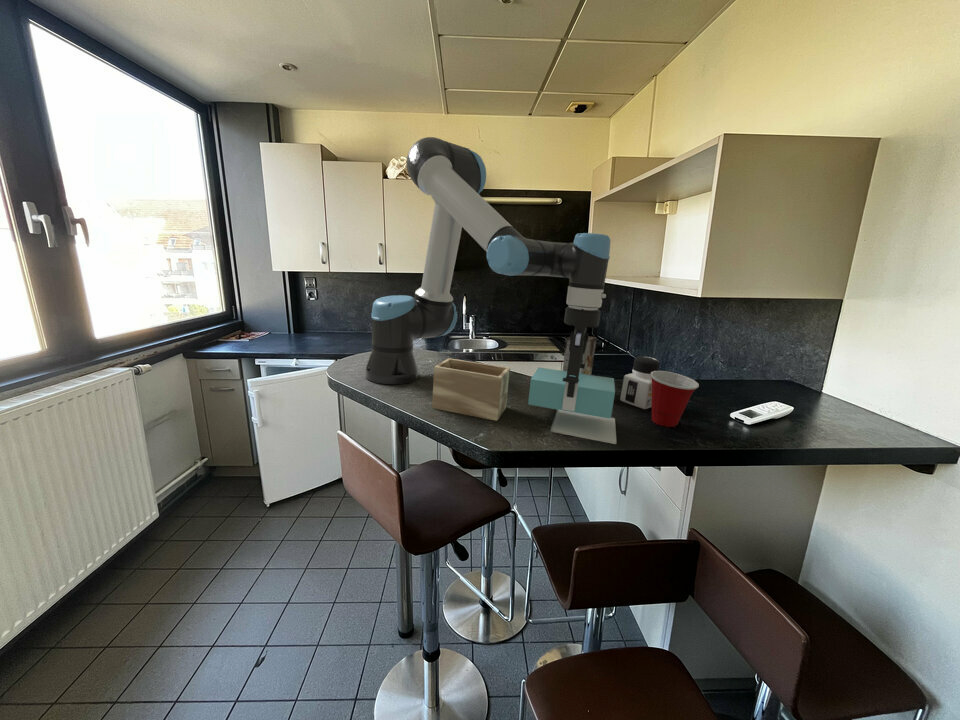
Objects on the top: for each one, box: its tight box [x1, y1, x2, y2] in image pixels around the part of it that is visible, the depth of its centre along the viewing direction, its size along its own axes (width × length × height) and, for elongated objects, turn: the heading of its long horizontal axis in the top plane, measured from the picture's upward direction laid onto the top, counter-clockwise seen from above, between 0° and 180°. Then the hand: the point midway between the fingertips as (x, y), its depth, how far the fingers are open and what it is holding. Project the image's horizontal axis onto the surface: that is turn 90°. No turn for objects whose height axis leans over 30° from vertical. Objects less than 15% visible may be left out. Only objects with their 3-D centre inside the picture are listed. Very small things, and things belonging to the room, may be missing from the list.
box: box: [431, 357, 511, 422], centre depth 95 cm, size 9×16×11 cm, turn 73°
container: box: [619, 356, 661, 410], centre depth 109 cm, size 8×8×13 cm
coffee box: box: [561, 335, 598, 375], centre depth 116 cm, size 9×6×16 cm
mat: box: [549, 409, 617, 445], centre depth 93 cm, size 14×22×1 cm, turn 73°
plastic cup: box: [650, 370, 700, 428], centre depth 96 cm, size 11×11×12 cm
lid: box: [527, 367, 616, 419], centre depth 91 cm, size 11×18×6 cm, turn 73°
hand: (570, 401), depth 92 cm, fingers closed on lid, 11 cm apart
